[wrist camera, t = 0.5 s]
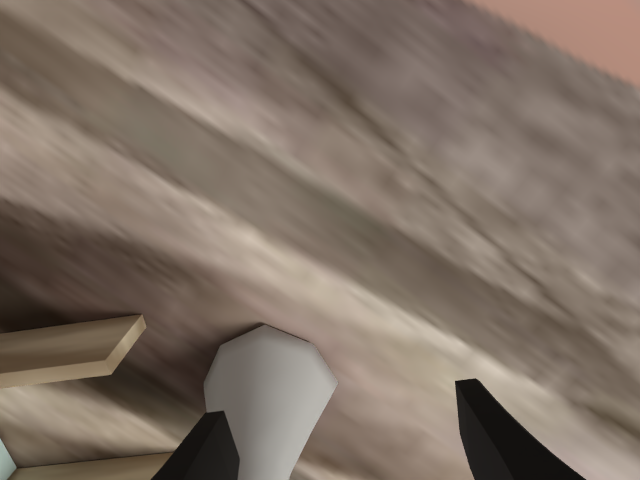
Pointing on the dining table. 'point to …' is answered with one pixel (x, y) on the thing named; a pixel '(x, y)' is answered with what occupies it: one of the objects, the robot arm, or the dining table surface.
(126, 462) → the lane
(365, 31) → the dining table surface
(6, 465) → the spring plate
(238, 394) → the flask
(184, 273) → the dining table surface
